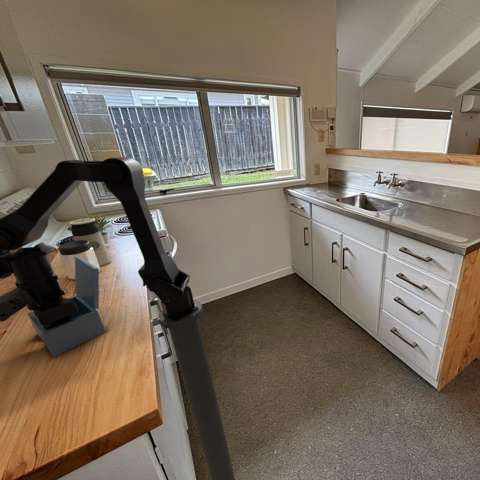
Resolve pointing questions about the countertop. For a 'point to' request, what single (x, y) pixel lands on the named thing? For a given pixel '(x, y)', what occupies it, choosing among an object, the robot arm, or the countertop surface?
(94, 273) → the lid
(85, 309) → the chest
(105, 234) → the house plant
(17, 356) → the countertop surface
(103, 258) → the travel mug
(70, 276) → the jar
